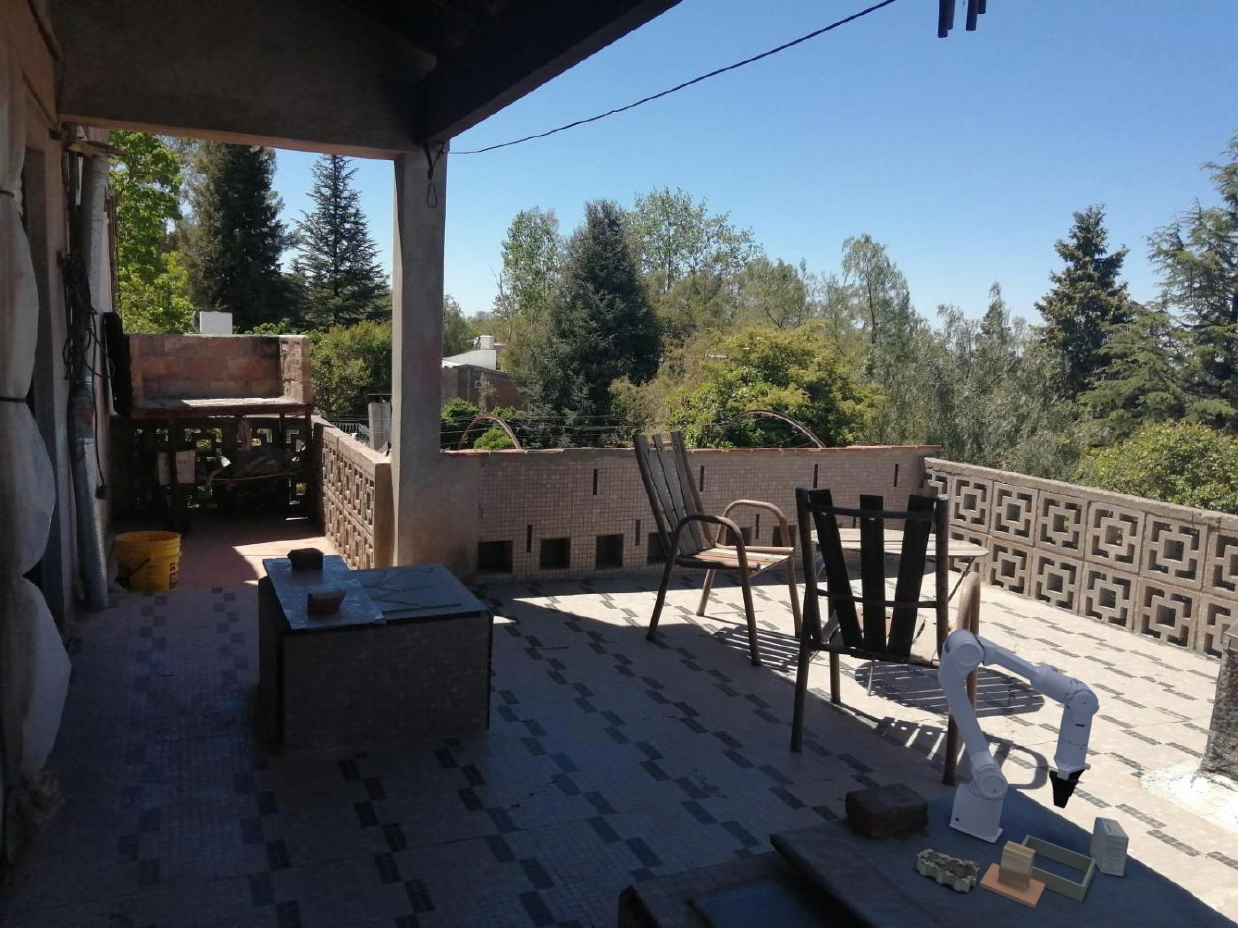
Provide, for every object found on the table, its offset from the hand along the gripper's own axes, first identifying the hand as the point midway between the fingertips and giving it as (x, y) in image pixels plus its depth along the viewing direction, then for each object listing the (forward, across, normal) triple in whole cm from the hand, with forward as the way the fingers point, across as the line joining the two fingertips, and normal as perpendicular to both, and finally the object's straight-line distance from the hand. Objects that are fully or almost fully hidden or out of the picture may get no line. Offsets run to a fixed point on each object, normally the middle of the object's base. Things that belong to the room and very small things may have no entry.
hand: (1062, 800), depth 197 cm
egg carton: (+11, -32, +14) cm, 36 cm away
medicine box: (+11, 0, -10) cm, 15 cm away
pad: (+10, -25, +3) cm, 27 cm away
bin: (+10, -13, -2) cm, 17 cm away
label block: (+10, -25, +3) cm, 27 cm away
